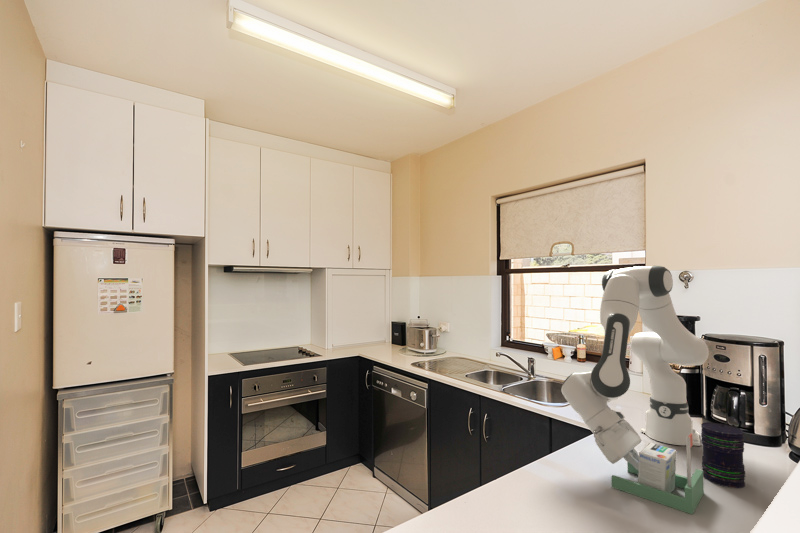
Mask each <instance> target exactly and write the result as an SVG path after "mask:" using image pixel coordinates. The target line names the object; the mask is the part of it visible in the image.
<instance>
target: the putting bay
mask: <svg viewBox="0 0 800 533" xmlns="http://www.w3.org/2000/svg"><path fill="white" fill-rule="evenodd" d="M685 446H686V473H687V474H686V476H684V475H680V474H677V473H675V488H676V487H677V488H680V489H683V490H684V497H683V496H681V495H676V494H675V493H672V492H671V493H668V492H665V491H662V490H658V489H655V488H652V487H649V486H646V485H643V484H640V483H638V482H635V481H633V480H629V479H626V478H623V477H620V476H617V475H615V474H612V475H611V488H614V489H616V490H619V491H623V492H626V493H628V494H632V495H633V496H637V497H640V498H642V499H644V500H645V499H646V500H648V501H652V502H655V503H657V504H660V505H663V506H667V507H669V508H672V509H675V510H678V511H681V512H684V513H686V514H690V515H693V514H694V513H695V511H696V509H697V506H698V505H699V503H700V501H701V500H702V497H703V496H704V493H705V490H704V484H705V483H704V477H703V469H698V468H696V469H695V471H693V473H692V461H691V460H692V455H691V453H692V452H691V450H692V449H691V448H692V447H693V446H694V445H693V438H692V433H691V434H690V435H689V436H688V437H686V445H685ZM626 462H627V461H626ZM627 472H628V473H632V474H634V475H637V476H638V470H636V469H635V467H634V466H633V465H632V464H630V463H629V462H627Z"/></svg>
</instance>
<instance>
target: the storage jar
mask: <svg viewBox="0 0 800 533" xmlns="http://www.w3.org/2000/svg"><path fill="white" fill-rule="evenodd" d="M700 424H701V425H700V427H701V430H700V431H701V433H700V434H701V436H700V437H701V439H700V442H701V444H702V458H701V459H702V460H701V467H702V471H703V479H704V480H707V481H708V482H710V483H712V484H715V485H718V486H721V487H725V488H730V489H742V488H745V487H746V483H745V480H746V471H745V464H744V452H745V448H744V445H745V440H744V430H742V429H741V428H739V427H736V426H734V425H729V424H725V423H718V422H710V421H709V422H702V423H700Z"/></svg>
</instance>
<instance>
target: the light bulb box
mask: <svg viewBox="0 0 800 533" xmlns="http://www.w3.org/2000/svg"><path fill="white" fill-rule="evenodd" d="M638 455H639V469H638V475H637V477H638V479H637V483H640V484H643V485H646V486H649V487H652V488H655V489H658V490H662V491H665V492H668V493H671V494H672V492H673V491H674V490H675V489H676V486H675V474H676V470H677V468H676V465H677V464H676V463H677V450H676V449H675V448H671V447H666V446H665V445H660V444H657V443H653V442H649V443H648V444H647V445H646V446H645V447H644V448H643V449H641V451H639V452H638Z"/></svg>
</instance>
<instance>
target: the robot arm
mask: <svg viewBox="0 0 800 533" xmlns="http://www.w3.org/2000/svg"><path fill="white" fill-rule="evenodd" d="M673 280H674V279H673V274H672V273H671V271H670V270H669V269H668V268H666V267H665V266H661V265H653V266H646V265H644V266H643V265H641V266H640V265H638V266H633V267H631V266H629V267H624V268H619V269H617V268H614V269H613V268H612V269H610V270H608V271H606V272H605V273H604V274H603V276H602V280H601V286H602V290H603V294H602V299H601V303H600V310H599V313H600V314H599V318H600V324H601V326H602V327H603V329H604V330H603V331H604V337H603V345H602V351H601V356H600V359H599V360H598V362H597V363H596V364H595V366H594V367H593V369H592V371H586V372H572V373H571V374H570V375H569V376H567V377H566V378H565V379H564V381H563V382H562V384H561V390H560V391H561V393H562V396H563V397H564V399H565V400H566V402H568V404H569V406H570V407H571V408H572V409H573V410H574V412H576V413H577V414H578V415H579V416H580V417H581V419H582V421H583V423H584V424H585V425H586V426H587V428H588V429H589V430H590V431H591V432H592V434H593V437H594V442H595V444H596V446H597V447H598V449H599V450H600V451H601V452H602V455H603V456H604V457H605V458H606V460H607V461H608V462H610V463H611V464H612V465H613V464H616V463H618V462H619V461H620V460H622V459H624V460H625V461H626V462H629V463H630V464H632V465H633V466H634V467H635V469H636V470H638V469H639V452H637V450H636V449H635V448H636V447H637V446H639V444H641V443H642V438H641V436H640V434H639V433H638V431H636V430H635V428H634V427H633V426H632V425H631V424H630V422H629V421H628V420H626V419H625V418H626V417H625V415H624V414H623V413H622V411H617V410H614V409H612V408H611V407H610V406H609V405H608V403H610V402H612V401H615V400H618V399H620V398H621V397H622V396H623V395H625V394H626V393H627V392H628V391H629V388H630V387H631V377H630V373H629V370H628V368H627V365H626V356H627V349H628V340H629V337H630V334H631V332H632V331H633V330H634V328H635V325H636V323H637V320H638V316H639V317H640V319H641V323H642V325H644V326H645V327H646V328H647V329H648V330H650V331H642V332H636V333H634V335H633V336H632V337H631V339H630V349H631V351H632V353H633V354H634V356H636V357H637V358H638V359H639V360H640V361H641V362H642V364H643V365H644V367H645V368H646V371H647V373H648V376H649V379H650V380H649V383H650V398H649V407H650V408H649V409H647V410H646V411H645V423H644V427H643V428H640V433H642V432H643V433H642V434H644V433H645V434H644V435H646V436H647V437H649V438H650V439H652V440H654V441H658V442H661V443H664V444H668V445H669V444H670V445H675V446H687V445H686V437H688V436H689V435H690V434H691V433H692V438H693V446H695V447H697V446H700V447H701V444H702V443H701V439H700V433H699V431H697V430H696V429H694V428H693V420H692V417H691V415H690V414H689V413H690V412H689V403H688V401H687V383H686V381H685V379H684V377H683V376H681V375H680V374H678V373H676V372H675V371H674V370H673V368H672V367H671V364H673V365H674V364H675V365H679V366H687V367H688V366H701V365H703V364H705V363H706V361H707V360H708V359H709V354H710V351H709V346H708V345H707V343H706V342H705V341H704V340H703V339H702V338H700V337H698V336H697V335H695V334H693V333H692V332H691V331H689V330H688V329H687V328H686V327H685V326H684V324H682V322H681V321H680V319H679V317H678V316H677V314H676V311H675V308H674V304H673V301H672V298H671V295H670V292H671V291H672V290H673V285H674V281H673Z"/></svg>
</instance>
